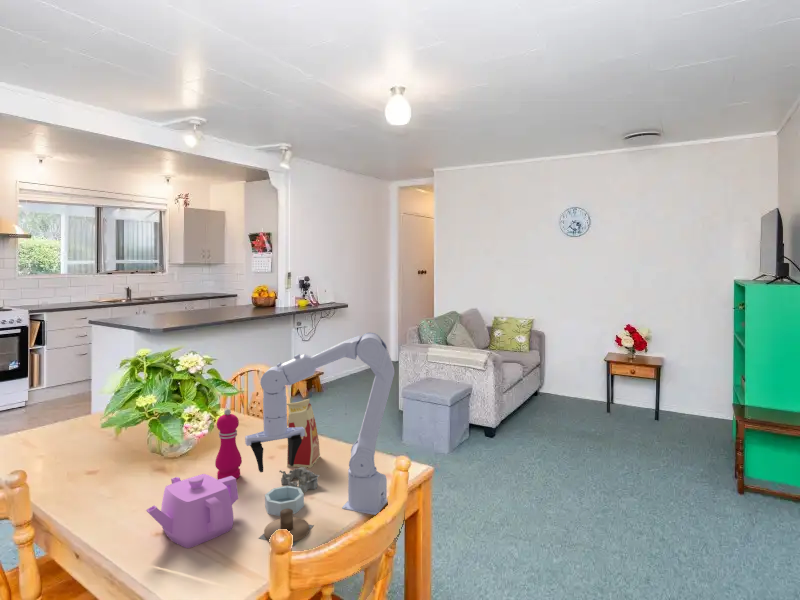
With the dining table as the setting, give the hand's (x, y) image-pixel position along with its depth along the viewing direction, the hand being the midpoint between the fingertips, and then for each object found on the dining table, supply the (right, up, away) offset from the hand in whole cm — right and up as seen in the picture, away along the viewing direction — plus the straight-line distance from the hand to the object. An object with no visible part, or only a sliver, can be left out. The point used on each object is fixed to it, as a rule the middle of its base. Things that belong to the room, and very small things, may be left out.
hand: (276, 467), depth 125 cm
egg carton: (+3, -10, +13) cm, 17 cm away
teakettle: (-16, -11, -10) cm, 22 cm away
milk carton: (+1, -8, +29) cm, 30 cm away
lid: (+5, -11, -12) cm, 17 cm away
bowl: (+2, -10, 0) cm, 10 cm away
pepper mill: (-18, -9, +18) cm, 27 cm away
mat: (+5, -11, -12) cm, 17 cm away
